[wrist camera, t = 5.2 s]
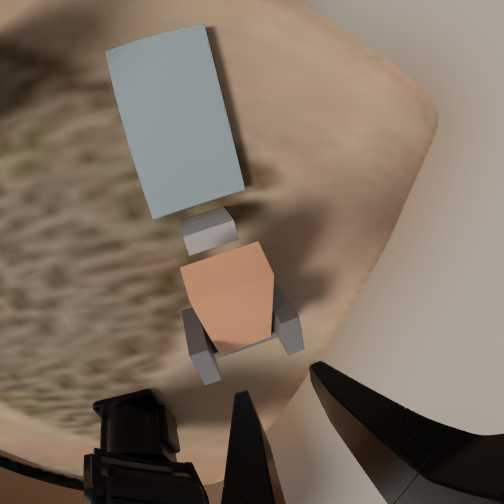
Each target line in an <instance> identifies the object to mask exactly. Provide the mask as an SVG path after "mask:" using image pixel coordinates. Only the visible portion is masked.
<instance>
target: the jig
mask: <svg viewBox="0 0 504 504" xmlns="http://www.w3.org/2000/svg"><path fill="white" fill-rule="evenodd" d="M180 225H181V230H182V235H183V239H184V242H185V245H186V247H187V250H188V253H189V256H190V255H193V254H196V253H199V252H202V251H205V250H208V249H211V248H213V247H216V246H219V245H222V244H225V243H228V242H231V241H235V240H238V239H239V238H238V234H237V230H236V227H235V223H234V220H233V218H232V217H231V216H230V215H229V213H228V212H227V211H226V209H225V208H224V207H221V208H218V209H215V210H212V211H208V212H205V213H202V214H199V215H196V216H193V217H190V218H187V219H184V220H181V221H180ZM182 316H183V322H184V328H185V334H186V340H187V345H188V351H189V356H190V358H191V360H192V362H193V364H194V366H195V368H196V370H197V371H198V373H199V375H200V377H201V379H202V381H203V383H204V384H205V385H208V384H211V383H214V382H217V381H220V380H222V379H221V376H220V372H219V369H218V366H217V362H216V359H217V358H220V357H223V356H226V355H229V354H232V353H235V352H237V351H240V350H243V349H246V348H249V347H251V346H254V345H257V344H260V343H262V342H265V341H268V340H270V339H273V338H275V337H278V338H279V340H280V342H281V343H282V345H283V347H284V349H285V350H286V352H287V354H288V355H291V354H293V353H296V352H298V351H301V350H303V349H304V343H303V337H302V331H301V325H300V319H299V316H298V314H297V313H296V312H295V310H294V309H293V308H292V306H291V305H290V303H289V302H288V301H287V299H286V298H285V296H284V295H283V294H282V292H281V291H280V290H279V288H278V287H277V285H276V284H275V283H274V287H273V306H272V324H271V337H269V338H267V339H264V340H261V341H259V342H256V343H253V344H250V345H248V346H245V347H242V348H239V349H237V350H234V351H231V352H228V353H225V354H222V355H220V353H219V352H218V350H217V349H216V347H215V345H214V344H213V342H212V340H211V338H210V337H209V335H208V333H207V332H206V330H205V328H204V327H203V325H202V323H201V321H200V320H199V318H198V316H197V314H196V313H195V311H194V309H193V308H190V309H187V310H184V311H182Z"/></svg>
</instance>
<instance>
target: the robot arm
mask: <svg viewBox="0 0 504 504" xmlns="http://www.w3.org/2000/svg"><path fill="white" fill-rule="evenodd" d="M309 370H310V378H311V382H312V385H313V387H314V389H315V391H316V394H317V395H318V397H319V400H320V401H321V404H322V406H323V408H324V409H325V412H326V414H327V416H328V418H329V420H330V422H331V423H332V425H333V426H334V428H335V429H336V431H337V432H338V434H339V435H340V436H341V438H342V439H343V441H344V442H345V444H346V445H347V447H348V448H349V449H350V451H351V453H352V454H353V455H354V457H355V458H356V460H357V461H358V463H359V464H360V465H361V467H362V468H363V470H364V471H365V473H366V474H367V475H368V477H369V478H370V480H371V481H372V482H373V484H374V485H375V487H376V488H377V489H378V491H379V492H380V494H381V495H382V496H383V498H384V499H385V501H386V502H387V503H388V504H504V434H498V435H477V434H472V433H469V432H466V431H462V430H459V429H456V428H453V427H450V426H447V425H444V424H441V423H438V422H436V421H433V420H431V419H428V418H426V417H424V416H422V415H419V414H417V413H415V412H413V411H411V410H409V409H408V408H405V407H404V406H401V405H399V404H398V403H396V402H394V401H392V400H390V399H388V398H387V397H385V396H383V395H381V394H379V393H377V392H375V391H373V390H372V389H370V388H368V387H366V386H364V385H363V384H361V383H359V382H357V381H356V380H354V379H352V378H350V377H348V376H347V375H345V374H343V373H341V372H340V371H338V370H336V369H334V368H333V367H331V366H329V365H328V364H326V363H324V362H322V361H319V362H316V363H313V364H311V365H310V366H309ZM93 409H94V411H95V412H96V413H97V414H98V415H99V416H100V417H101V440H100V449H98V448H94V451H93V454H88V455H84V469H83V479H84V496H85V497H86V498H87V499H88V500H89V501H90V503H91V504H209V500H208V496H207V493H206V491H205V490H204V487H203V485H202V483H201V481H200V479H199V477H198V474H197V472H196V470H195V468H194V466H193V464H192V462H185V463H181V462H177V459H176V453H179V452H180V445H179V439H178V433H177V424H176V420H175V418H174V417H173V415H172V414H171V413H170V411H169V410H168V409H167V408H166V406H164V405H162V404H161V403H160V401H159V400H158V399H157V397H156V396H155V395H154V393H153V392H152V391H150V390H146V391H142V392H138V393H134V394H130V395H126V396H122V397H118V398H114V399H109V400H105V401H100V402H96V403H94V404H93ZM221 504H286V503H285V499H284V495H283V492H282V488H281V484H280V481H279V477H278V473H277V469H276V466H275V462H274V458H273V454H272V451H271V447H270V444H269V442H268V439H267V437H266V434H265V432H264V429H263V427H262V424H261V422H260V419H259V417H258V414H257V412H256V409H255V407H254V404H253V402H252V399H251V397H250V394H249V392H248V390H243V391H240V392H237V393H236V394H235V397H234V405H233V413H232V421H231V429H230V437H229V445H228V453H227V461H226V469H225V478H224V487H223V493H222V500H221Z"/></svg>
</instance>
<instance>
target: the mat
mask: <svg viewBox="0 0 504 504" xmlns="http://www.w3.org/2000/svg"><path fill="white" fill-rule="evenodd" d="M105 54H106V58H107V63H108V67H109V71H110V76H111V80H112V84H113V88H114V92H115V96H116V100H117V104H118V108H119V111H120V115H121V119H122V122H123V126H124V130H125V133H126V137H127V140H128V143H129V147H130V150H131V153H132V157H133V160H134V163H135V166H136V170H137V173H138V176H139V179H140V182H141V185H142V188H143V191H144V194H145V197H146V200H147V203H148V206H149V209H150V212H151V215H152V218H153V219H156V218H159V217H162V216H165V215H167V214H170V213H173V212H176V211H179V210H182V209H185V208H188V207H191V206H194V205H198V204H201V203H204V202H207V201H210V200H213V199H216V198H220V197H223V196H226V195H229V194H233V193H236V192H239V191H243V190H245V187H244V183H243V179H242V175H241V170H240V166H239V162H238V158H237V154H236V150H235V146H234V142H233V138H232V134H231V130H230V126H229V121H228V117H227V113H226V109H225V105H224V101H223V97H222V93H221V89H220V85H219V81H218V77H217V73H216V69H215V65H214V61H213V57H212V53H211V50H210V46H209V42H208V38H207V34H206V30H205V26H204V24H201V25H196V26H191V27H187V28H182V29H178V30H174V31H169V32H165V33H162V34H158V35H154V36H151V37H147V38H144V39H140V40H137V41H134V42H131V43H128V44H125V45H122V46H119V47H116V48H113V49H110V50H108V51H105Z"/></svg>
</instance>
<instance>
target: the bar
mask: <svg viewBox="0 0 504 504" xmlns="http://www.w3.org/2000/svg"><path fill="white" fill-rule="evenodd" d="M180 269H181V273H182V276H183V280H184V283H185V287H186V290H187V294H188V297H189V300H190V304H191V305H192V307H193V309H194V311H195V313H196V314H197V316H198V318H199V320H200V321H201V323H202V325H203V327H204V328H205V330H206V332H207V333H208V335H209V337H210V338H211V340H212V342H213V344H214V345H215V347H216V349H217V350H218V352H219V353H220V355H222V354H225V353H228V352H231V351H234V350H237V349H239V348H242V347H245V346H248V345H250V344H253V343H256V342H259V341H261V340H264V339H267V338H269V337H271V324H272V306H273V287H274V273H273V271H272V269H271V267H270V265H269V263H268V261H267V259H266V256H265V254H264V252H263V250H262V248H261V246H260V244H259V242H258V241H257V242H254V243H251V244H248V245H245V246H242V247H239V248H236V249H233V250H230V251H227V252H224V253H221V254H218V255H215V256H212V257H210V258H207V259H204V260H201V261H198V262H195V263H192V264H189V265H186V266H183V267H180Z"/></svg>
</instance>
